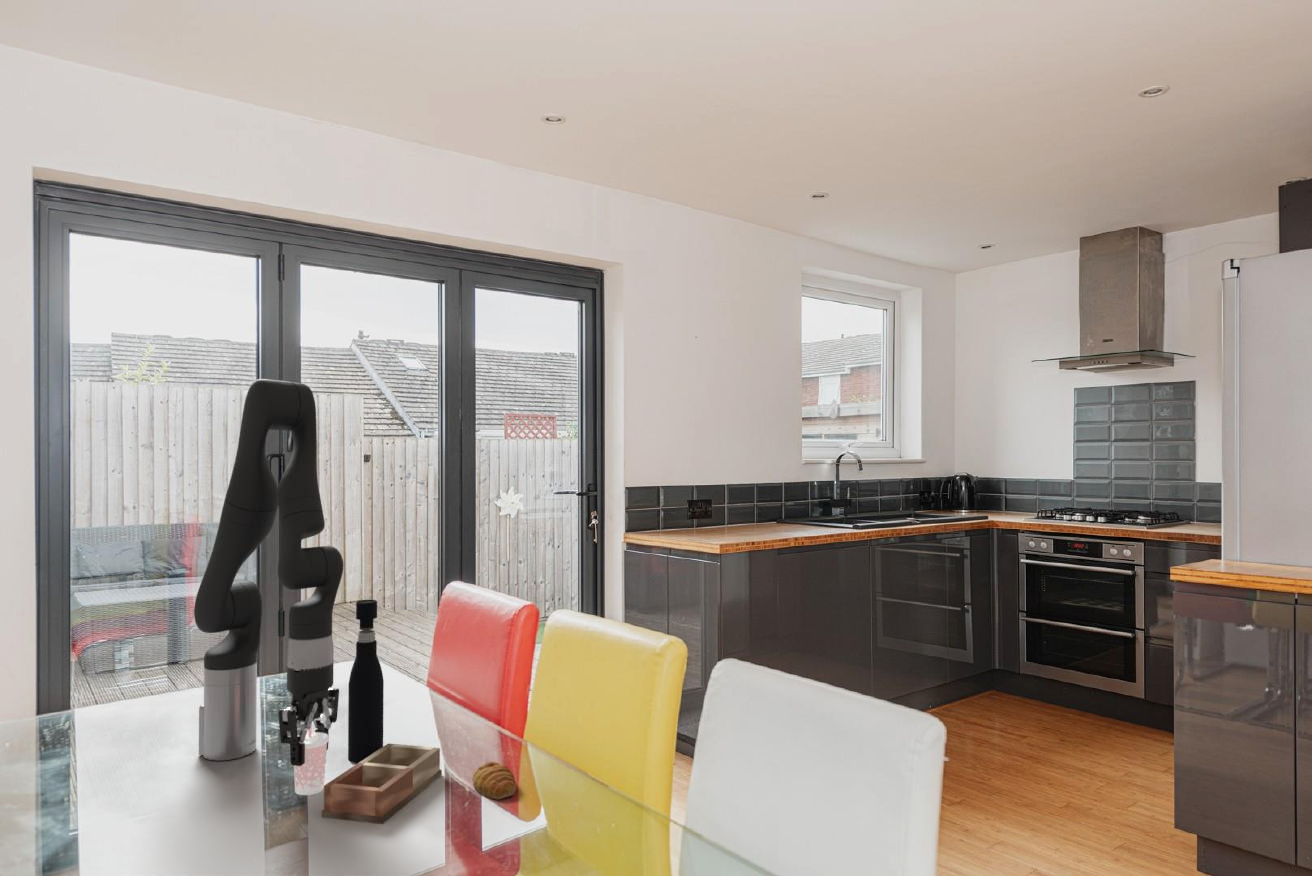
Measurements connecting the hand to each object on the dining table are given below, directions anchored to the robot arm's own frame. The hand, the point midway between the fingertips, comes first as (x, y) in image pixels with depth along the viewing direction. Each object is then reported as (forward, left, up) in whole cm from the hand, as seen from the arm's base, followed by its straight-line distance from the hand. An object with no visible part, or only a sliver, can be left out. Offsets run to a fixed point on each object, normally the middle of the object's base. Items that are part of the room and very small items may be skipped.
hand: (309, 757), depth 145 cm
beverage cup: (0, 0, -6) cm, 6 cm away
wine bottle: (+1, +16, -6) cm, 17 cm away
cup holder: (+14, +1, -6) cm, 15 cm away
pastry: (+31, +8, -6) cm, 33 cm away
